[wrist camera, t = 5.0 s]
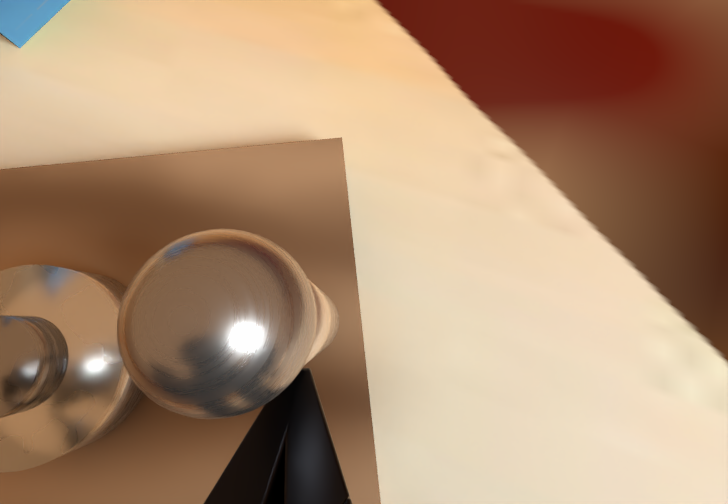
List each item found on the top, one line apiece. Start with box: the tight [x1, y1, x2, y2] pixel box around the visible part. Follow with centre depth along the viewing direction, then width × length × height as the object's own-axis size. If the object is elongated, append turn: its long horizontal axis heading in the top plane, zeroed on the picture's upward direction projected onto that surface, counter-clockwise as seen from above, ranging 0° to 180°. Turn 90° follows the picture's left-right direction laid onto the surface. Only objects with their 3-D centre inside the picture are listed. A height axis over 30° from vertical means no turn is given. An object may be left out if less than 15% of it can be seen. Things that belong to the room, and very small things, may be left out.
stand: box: [0, 138, 381, 504], centre depth 15 cm, size 20×20×2 cm
